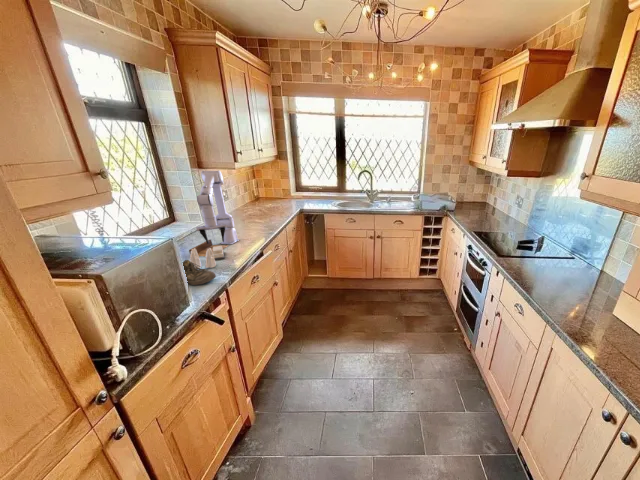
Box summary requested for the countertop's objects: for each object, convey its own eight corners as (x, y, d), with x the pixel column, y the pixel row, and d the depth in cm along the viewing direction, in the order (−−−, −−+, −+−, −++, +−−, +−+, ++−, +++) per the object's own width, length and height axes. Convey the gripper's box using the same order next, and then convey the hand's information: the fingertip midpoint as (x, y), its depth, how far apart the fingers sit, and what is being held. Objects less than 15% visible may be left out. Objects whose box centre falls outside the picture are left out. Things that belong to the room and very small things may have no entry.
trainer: (214, 254, 177) (212, 246, 175) (224, 252, 179) (222, 245, 177) (214, 260, 168) (212, 252, 166) (224, 258, 170) (222, 250, 168)
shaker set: (191, 272, 153) (184, 251, 148) (190, 269, 156) (183, 249, 151) (217, 267, 159) (212, 246, 154) (216, 264, 162) (210, 244, 157)
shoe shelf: (210, 245, 193) (209, 239, 191) (229, 245, 192) (227, 239, 190) (190, 256, 175) (188, 249, 173) (210, 256, 174) (209, 250, 172)
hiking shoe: (207, 282, 136) (206, 256, 137) (163, 287, 137) (162, 260, 138) (220, 284, 145) (219, 259, 146) (178, 288, 147) (177, 263, 148)
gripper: (193, 220, 158) (200, 246, 164) (224, 217, 164) (230, 242, 170) (194, 217, 164) (201, 242, 170) (224, 215, 170) (229, 239, 175)
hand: (215, 242), depth 170 cm, fingers open, 7 cm apart
